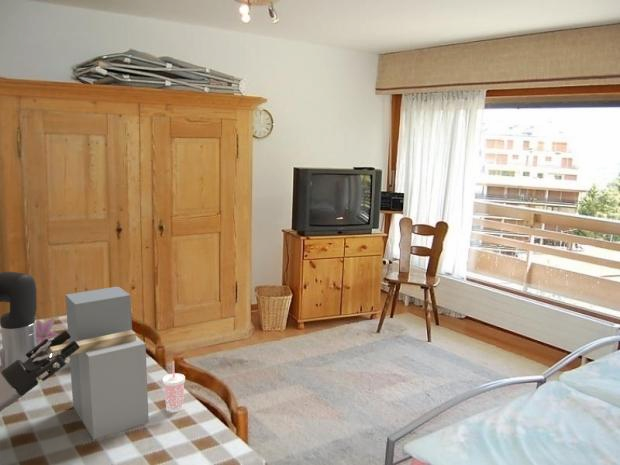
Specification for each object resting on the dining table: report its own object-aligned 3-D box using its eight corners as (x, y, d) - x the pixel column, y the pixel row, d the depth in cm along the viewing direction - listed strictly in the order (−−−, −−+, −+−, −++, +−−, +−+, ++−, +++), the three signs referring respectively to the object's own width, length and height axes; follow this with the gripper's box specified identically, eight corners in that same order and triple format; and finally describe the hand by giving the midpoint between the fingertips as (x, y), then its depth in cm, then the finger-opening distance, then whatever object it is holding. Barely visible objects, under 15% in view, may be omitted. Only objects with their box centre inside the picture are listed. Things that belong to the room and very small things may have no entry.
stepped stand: (93, 439, 132) (86, 315, 126) (73, 406, 148) (65, 294, 142) (148, 422, 140) (143, 304, 135) (123, 392, 156) (118, 286, 150)
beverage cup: (166, 415, 144) (164, 367, 141) (161, 405, 149) (159, 358, 147) (188, 410, 147) (187, 363, 144) (182, 400, 152) (181, 355, 149)
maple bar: (53, 358, 126) (52, 351, 126) (50, 354, 129) (49, 347, 128) (136, 340, 138) (135, 333, 138) (132, 337, 141) (131, 329, 140)
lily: (21, 347, 190) (13, 330, 184) (50, 327, 197) (43, 310, 191) (42, 364, 185) (34, 347, 179) (71, 342, 193) (65, 325, 186)
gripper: (15, 384, 130) (74, 340, 137) (26, 408, 119) (89, 358, 126) (-5, 363, 127) (56, 319, 134) (4, 385, 116) (71, 336, 123)
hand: (72, 338), depth 130 cm, fingers open, 8 cm apart
